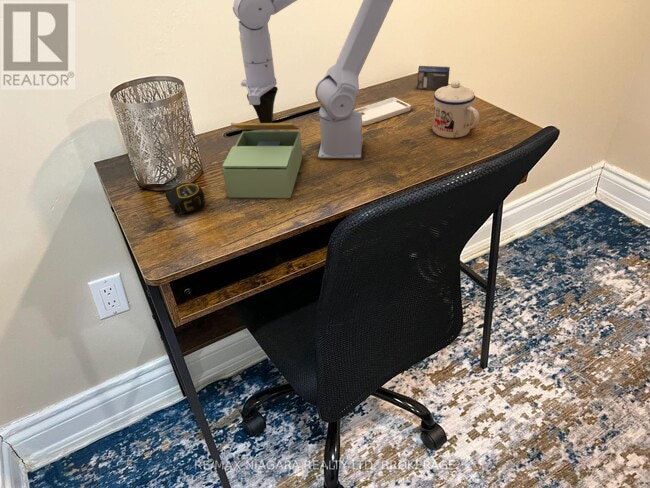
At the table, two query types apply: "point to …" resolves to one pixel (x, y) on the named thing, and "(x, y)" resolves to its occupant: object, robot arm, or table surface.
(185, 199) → the tape measure
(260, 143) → the cube
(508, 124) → the table surface
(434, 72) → the mini dv tape
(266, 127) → the lid
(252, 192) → the green open box
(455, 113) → the teacup with lid
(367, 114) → the phone case
